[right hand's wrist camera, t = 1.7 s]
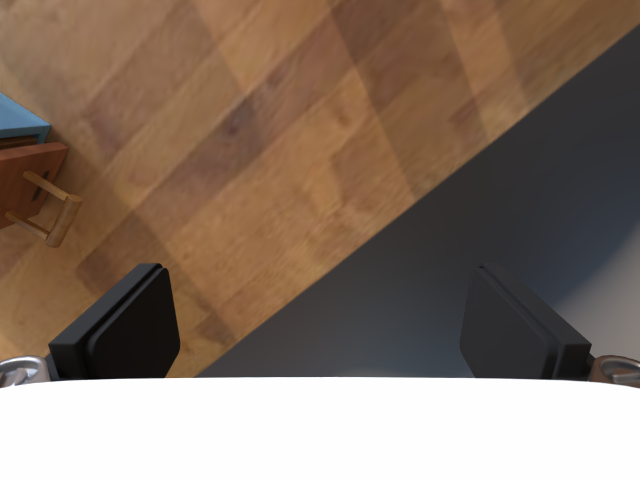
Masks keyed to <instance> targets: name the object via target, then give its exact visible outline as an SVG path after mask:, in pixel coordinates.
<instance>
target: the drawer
mask: <svg viewBox="0 0 640 480" xmlns="http://www.w3.org/2000/svg"><path fill="white" fill-rule="evenodd" d="M37 141H38V139H36V138H34V137H33V136H31V135H26V136H17V137H7V138H0V229H2V228H4V227H7V226H9V225H12V224H14V223H17V224H18V225H20V226H22V227H24V228H25V229H27V230H29V231H31V232H32V233H34V234H36V235H38V236H39V237H41V238H43V239H45V240H46V239H47V240H46V244H47V245H48V246H50V247H53V248H57V247H59V246H60V245H61V243H62V241H63V239H64V237H65V235H66V233H67V231H68V229H69V227H70V225H71V223H72V221H73V219H74V217H75V215H76V213H77V211H78V209H79V208H80V206H81V204H82V202H83V199H82V198H81V197H79V196H77V195H74V194H70V195H69V194H68V193H66V192H64V191H63V190H61V189H59V188H58V187H56V186H54V185H53V182H54V180H55V178H56V175H57V173H58V171H59V169H60V167H61V165H62V163H63V161H64V158H65V156H66V154H67V152H68V150H69V148H68V147H67V146H65V145H64V144H62V143H61V142H59V141H58V142H51V143H44V144H37ZM36 144H37V145H36ZM48 192H50V193H51V194H53V195H55V196H56V197H58V198H60V199H61V200H63V201H65V203H64V205H63V207H62V209H61V211H60V213H59V215H58V217H57V219H56V221H55V224H54V226H53V228H52V230H51V232H48V231H46V230H45V229H43V228H41V227H39V226H38V225H36V224H34V223H33V222H31V221H29V220H27V218H30V217H32V216H35V215H37V214H39V212H40V209H41V207H42V205H43V203H44V201H45V199H46V197H47V195H48Z"/></svg>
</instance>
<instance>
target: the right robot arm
mask: <svg viewBox="0 0 640 480" xmlns="http://www.w3.org/2000/svg"><path fill="white" fill-rule="evenodd" d="M48 346H49V349H50V352H51V353H50V354H49V355H48V356H47V357H46V358H45V359H44V358H42V357H40V356H34V355H26V356H18V357H14V358H10V359H6V360H3V361H1V362H0V480H640V362H639V361H637V360H634V359H630V358H626V357H622V356H614V355H606V356H600V357H598V358H596V359H595V358H594V357H593V356H592V355H591V354H590V353H589V352H590V349H591V346H592V344H591V343H590V342H589V341H588V340H586V339H585V338H584V337H583V336H582V335H581V334H580V333H579V332H578V331H576V330H575V329H574V328H573V327H572V326H571V325H570V324H568V323H567V322H566V321H565V320H564V319H563V318H562V317H561V316H559V315H558V314H557V313H556V312H555V311H554V310H553V309H551V308H550V307H549V306H548V305H547V304H546V303H545V302H544V301H542V300H541V299H540V298H539V297H538V296H537V295H536V294H534V293H533V292H532V291H531V290H530V289H529V288H528V287H527V286H525V285H524V284H523V283H522V282H521V281H520V280H519V279H517V278H516V277H515V276H514V275H513V274H512V273H511V272H510V271H508V270H507V269H506V268H505V267H504V266H503V265H502V264H499V263H482V264H479V265H478V267H477V268H474V269H473V270H472V272H471V277H470V283H469V289H468V295H467V301H466V307H465V314H464V319H463V325H462V332H461V338H460V350H461V353H462V355H463V357H464V359H465V360H466V362H467V364H468V366H469V367H470V369H471V371H472V373H473V375H474V376H475V378H368V377H367V378H365V377H282V378H281V377H277V378H165V376H166V375H167V373H168V371H169V369H170V367H171V366H172V364H173V362H174V360H175V359H176V357H177V355H178V353H179V350H180V338H179V331H178V325H177V319H176V313H175V307H174V301H173V295H172V289H171V283H170V277H169V272H168V270H167V269H166V268H163V267H162V265H161V264H158V263H140V264H138V265H137V266H136V267H135V268H134V269H133V270H132V271H130V272H129V273H128V274H127V275H126V276H125V277H124V278H123V279H121V280H120V281H119V282H118V283H117V284H116V285H115V286H113V287H112V288H111V289H110V290H109V291H108V292H107V293H106V294H104V295H103V296H102V297H101V298H100V299H99V300H98V301H96V302H95V303H94V304H93V305H92V306H91V307H90V308H89V309H87V310H86V311H85V312H84V313H83V314H82V315H81V316H79V317H78V318H77V319H76V320H75V321H74V322H73V323H72V324H70V325H69V326H68V327H67V328H66V329H65V330H64V331H62V332H61V333H60V334H59V335H58V336H57V337H56V338H55V339H53V340H52V341H51V342H50V343H49V344H48Z"/></svg>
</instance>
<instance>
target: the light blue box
mask: <svg viewBox="0 0 640 480" xmlns="http://www.w3.org/2000/svg"><path fill="white" fill-rule="evenodd" d="M50 128H51V125H50V124H48V123H47V122H45V121H44V120H42V119H41V118H39V117H38V116H36V115H34V114H33V113H31V112H30V111H28V110H27V109H25V108H24V107H22V106H20V105H19V104H17V103H16V102H14V101H13V100H11V99H9V98H8V97H6V96H5V95H3V94H2V93H0V138H7V137H17V136H26V135H31V136H33V137H34V138H36V139H38V141H37V144H43V143H44V141H45V139H46V137H47V134H48V132H49V130H50ZM37 144H36V145H37Z"/></svg>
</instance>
